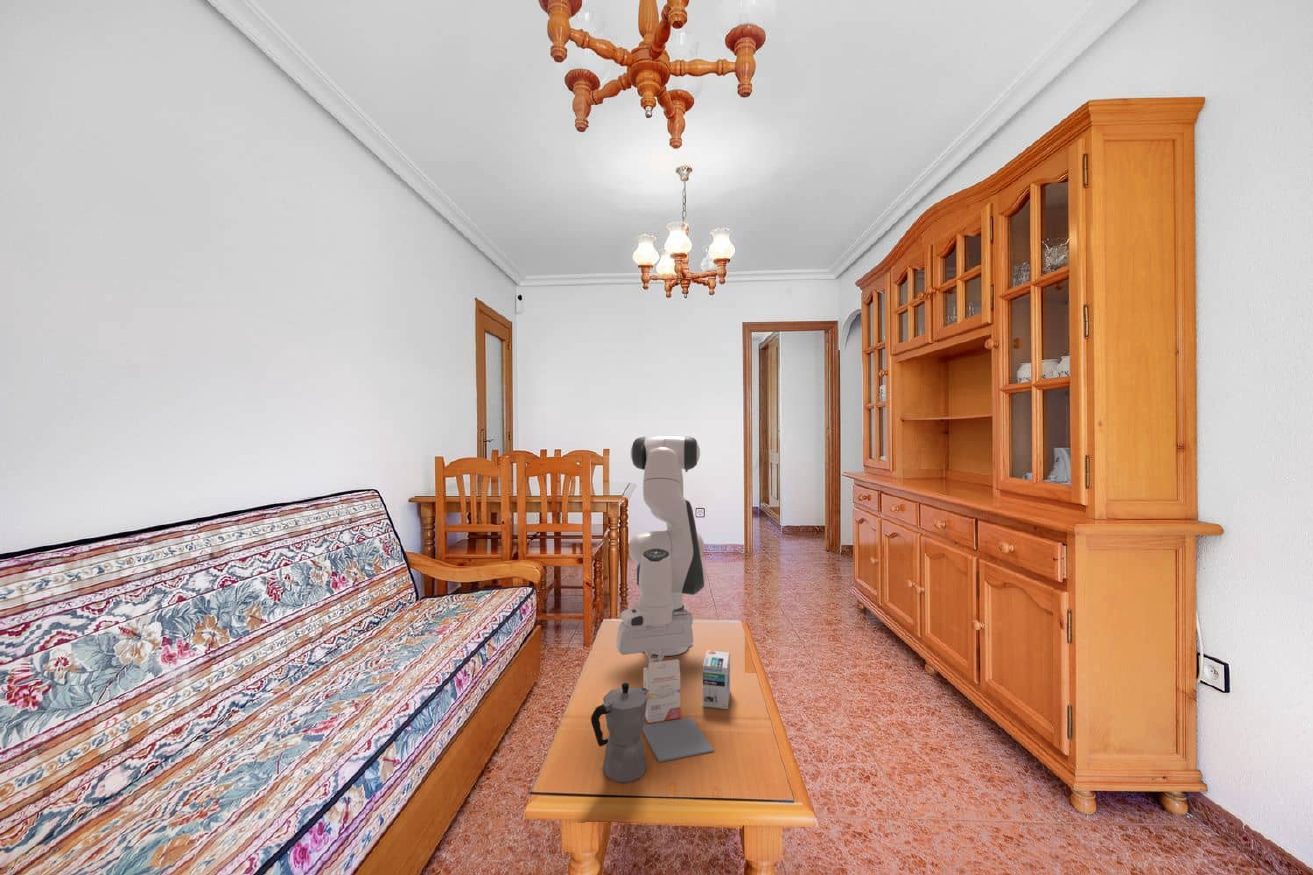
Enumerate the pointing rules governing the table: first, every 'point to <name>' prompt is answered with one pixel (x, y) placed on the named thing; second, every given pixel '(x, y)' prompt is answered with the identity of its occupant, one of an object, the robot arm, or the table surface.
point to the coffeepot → (622, 732)
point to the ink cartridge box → (662, 690)
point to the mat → (676, 739)
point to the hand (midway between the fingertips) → (655, 666)
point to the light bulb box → (716, 679)
